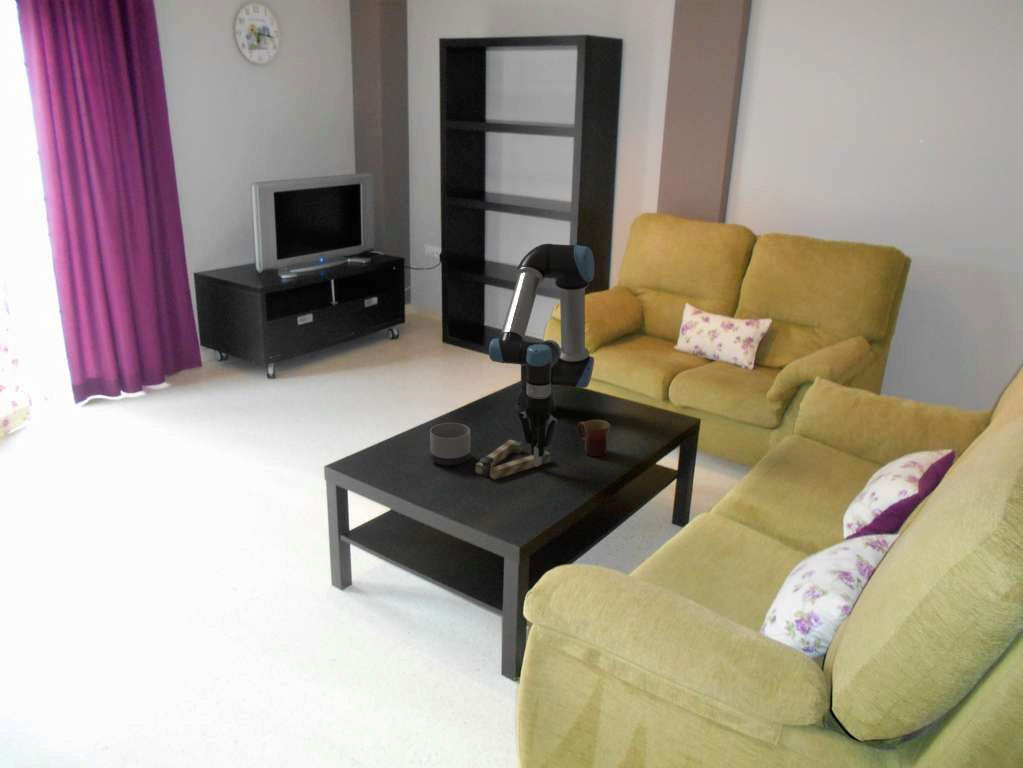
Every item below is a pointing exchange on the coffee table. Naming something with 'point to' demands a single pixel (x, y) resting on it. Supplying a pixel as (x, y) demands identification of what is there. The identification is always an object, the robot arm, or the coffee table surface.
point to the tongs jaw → (516, 466)
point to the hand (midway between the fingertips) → (537, 464)
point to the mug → (595, 436)
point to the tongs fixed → (497, 457)
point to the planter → (450, 443)
